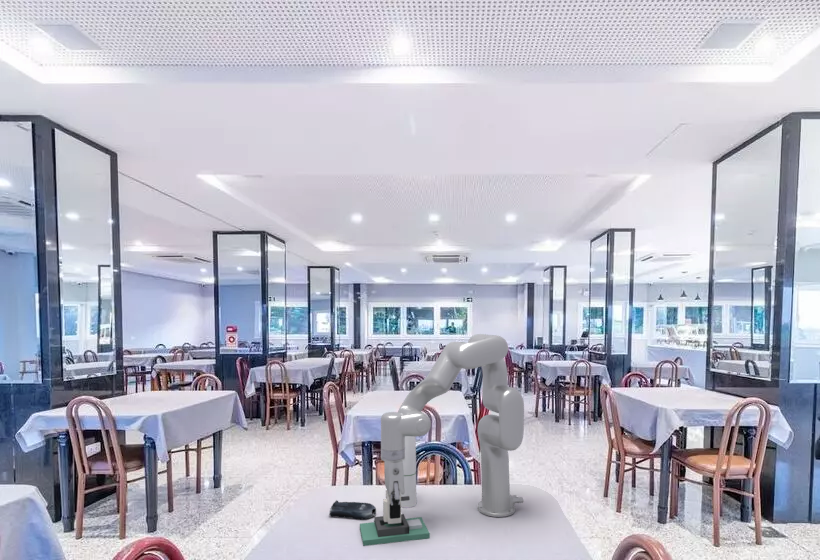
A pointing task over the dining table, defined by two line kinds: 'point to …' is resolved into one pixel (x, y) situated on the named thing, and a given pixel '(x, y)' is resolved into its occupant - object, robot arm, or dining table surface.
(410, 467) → the cylindrical container
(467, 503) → the dining table surface
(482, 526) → the dining table surface
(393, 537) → the circuit board
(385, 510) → the keyed plug
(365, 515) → the electronic device
